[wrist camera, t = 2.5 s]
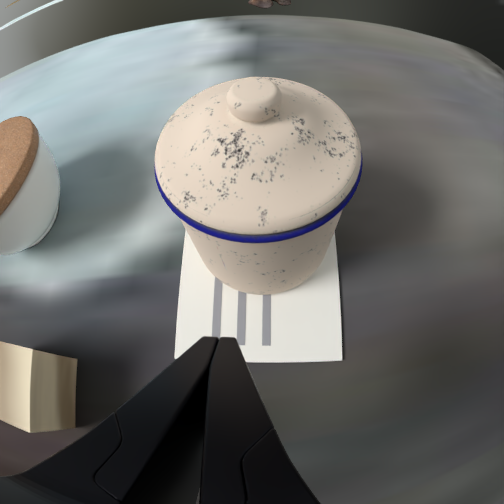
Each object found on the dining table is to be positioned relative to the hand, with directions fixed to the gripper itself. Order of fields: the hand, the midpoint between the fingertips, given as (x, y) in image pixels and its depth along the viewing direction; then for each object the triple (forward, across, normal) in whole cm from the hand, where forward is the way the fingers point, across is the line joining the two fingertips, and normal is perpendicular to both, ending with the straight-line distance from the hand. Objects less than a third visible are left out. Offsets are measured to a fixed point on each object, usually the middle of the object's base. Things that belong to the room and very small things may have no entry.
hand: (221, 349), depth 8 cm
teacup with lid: (+15, 0, +1) cm, 15 cm away
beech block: (+6, +14, +10) cm, 18 cm away
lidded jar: (+15, +20, 0) cm, 25 cm away
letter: (+12, 0, +3) cm, 13 cm away
